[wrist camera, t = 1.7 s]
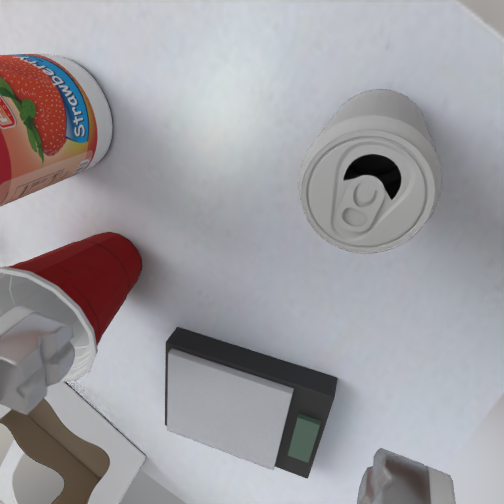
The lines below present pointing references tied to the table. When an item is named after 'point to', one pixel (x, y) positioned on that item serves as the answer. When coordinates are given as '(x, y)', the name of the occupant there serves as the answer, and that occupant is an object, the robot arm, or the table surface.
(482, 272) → the table surface
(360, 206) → the beverage can
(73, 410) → the gable box
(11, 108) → the fruit juice
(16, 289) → the plastic cup
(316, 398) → the kitchen scale
